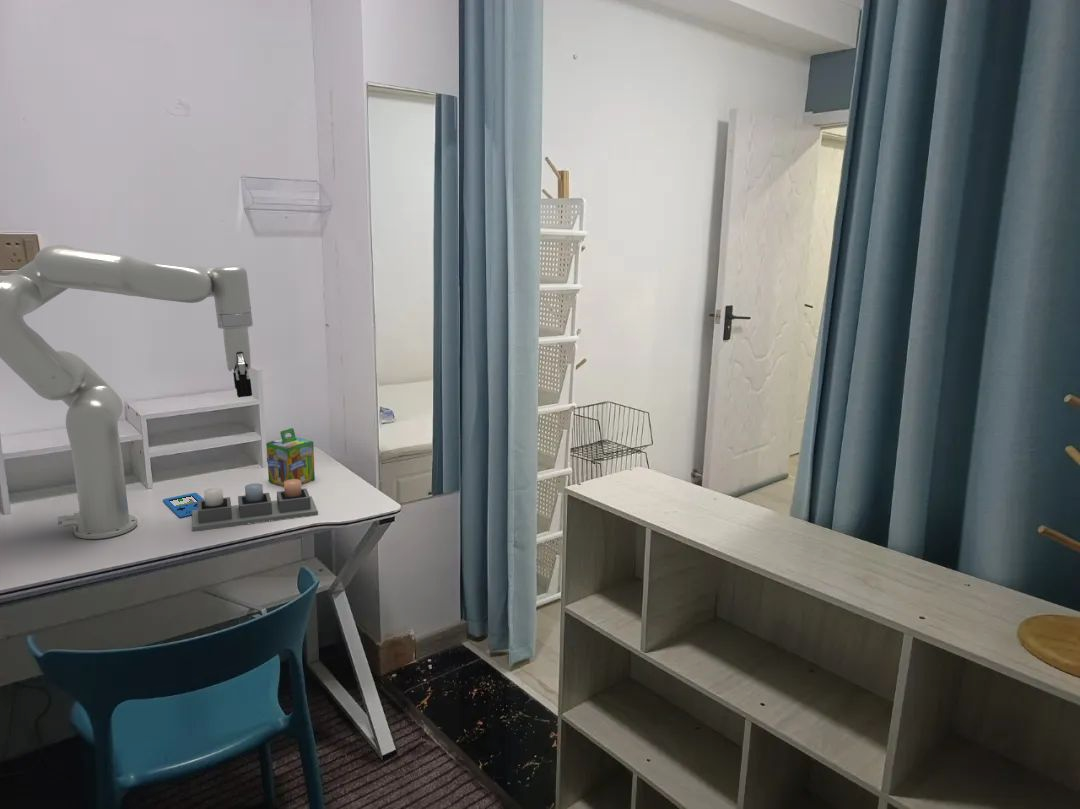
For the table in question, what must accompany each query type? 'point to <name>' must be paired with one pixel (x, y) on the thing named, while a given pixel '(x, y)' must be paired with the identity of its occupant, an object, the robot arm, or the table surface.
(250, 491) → the slate key
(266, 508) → the grey socket tray
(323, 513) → the table surface
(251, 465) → the table surface
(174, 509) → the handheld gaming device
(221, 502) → the ivory key
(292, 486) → the terracotta key
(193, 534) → the table surface
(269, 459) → the chalk box
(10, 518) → the table surface
